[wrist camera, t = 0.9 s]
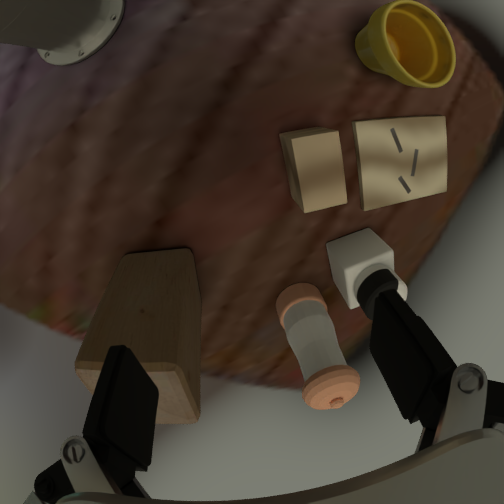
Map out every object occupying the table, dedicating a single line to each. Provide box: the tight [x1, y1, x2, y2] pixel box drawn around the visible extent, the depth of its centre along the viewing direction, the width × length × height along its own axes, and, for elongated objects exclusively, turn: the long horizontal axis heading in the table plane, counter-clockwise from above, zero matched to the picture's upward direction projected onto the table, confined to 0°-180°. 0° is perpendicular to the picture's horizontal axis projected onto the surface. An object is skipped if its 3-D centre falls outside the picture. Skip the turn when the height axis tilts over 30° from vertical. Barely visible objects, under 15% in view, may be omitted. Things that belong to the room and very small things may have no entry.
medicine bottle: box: [326, 228, 407, 320], centre depth 34 cm, size 7×7×12 cm
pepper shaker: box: [276, 283, 360, 410], centre depth 34 cm, size 7×7×19 cm
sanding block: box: [279, 126, 347, 213], centre depth 30 cm, size 8×5×6 cm, turn 13°
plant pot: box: [355, 0, 456, 88], centre depth 21 cm, size 10×10×10 cm
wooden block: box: [75, 248, 202, 424], centre depth 29 cm, size 10×10×20 cm
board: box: [352, 116, 447, 211], centre depth 32 cm, size 12×16×1 cm
